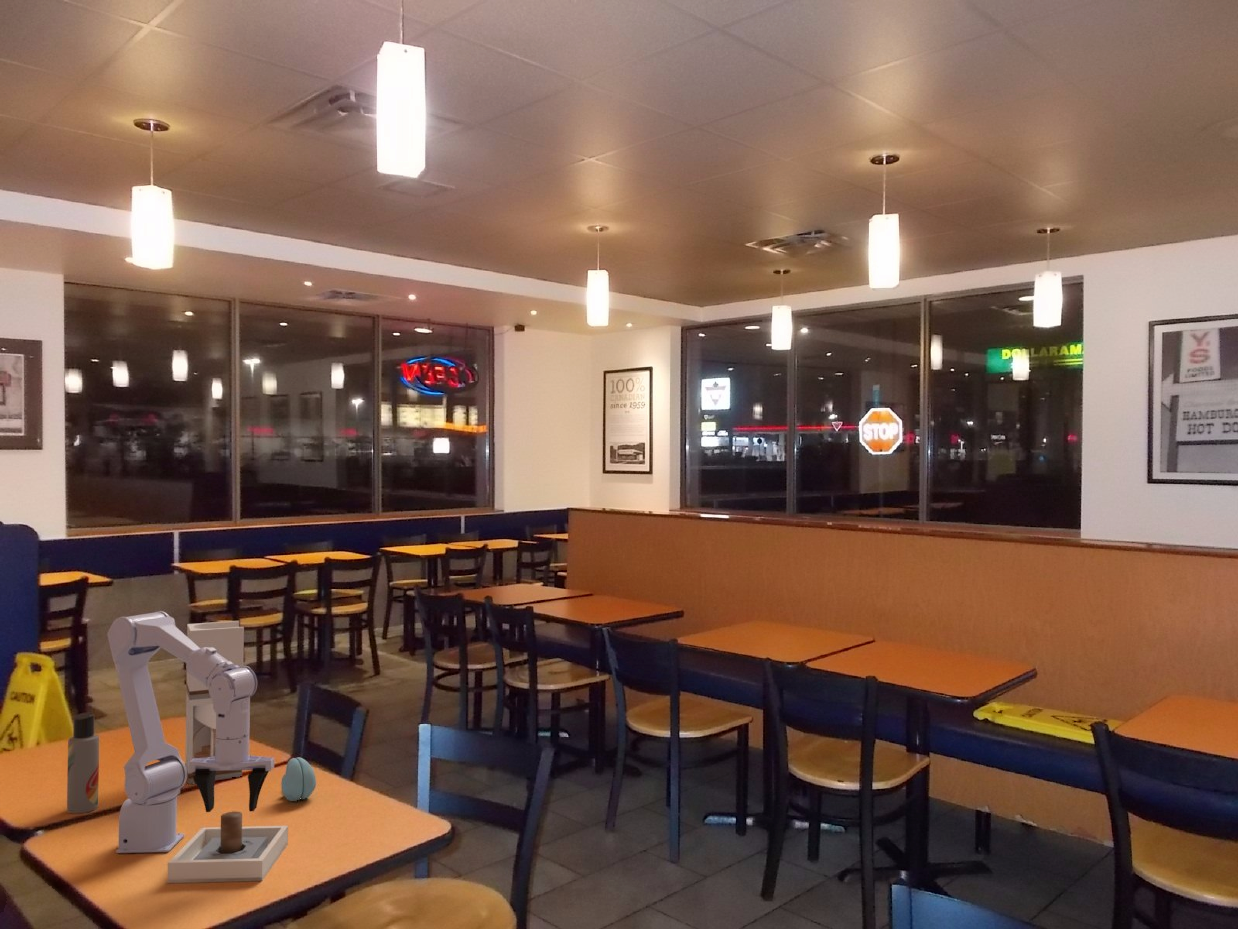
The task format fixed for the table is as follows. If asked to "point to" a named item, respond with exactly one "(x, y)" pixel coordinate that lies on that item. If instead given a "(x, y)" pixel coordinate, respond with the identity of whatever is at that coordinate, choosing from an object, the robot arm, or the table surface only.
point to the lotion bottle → (83, 766)
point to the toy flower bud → (298, 780)
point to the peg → (231, 832)
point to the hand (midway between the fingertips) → (231, 809)
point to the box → (228, 856)
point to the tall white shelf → (198, 699)
